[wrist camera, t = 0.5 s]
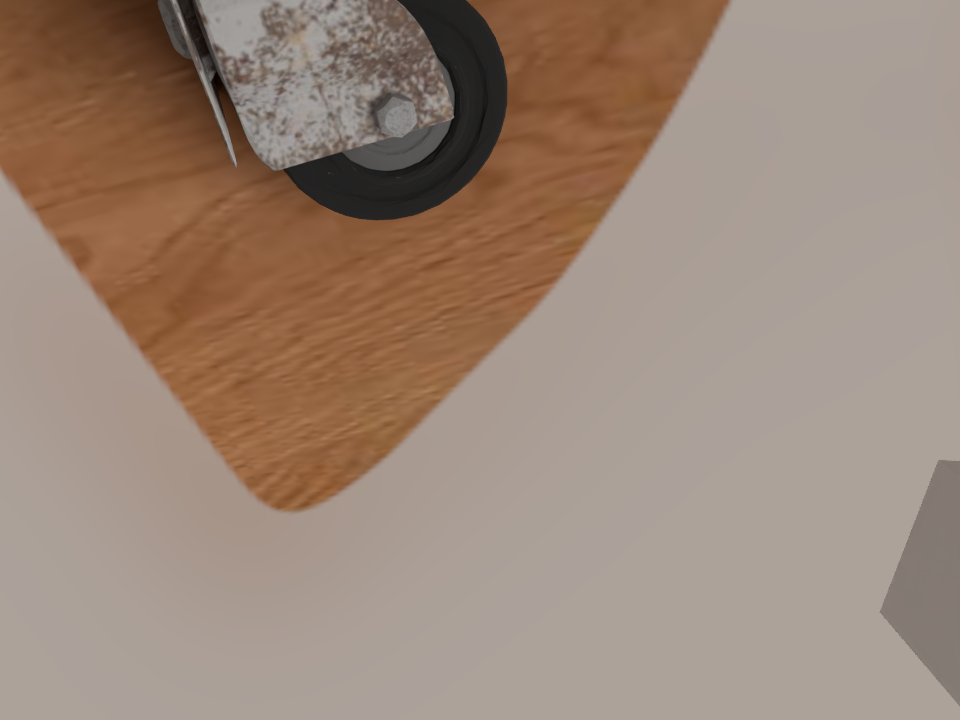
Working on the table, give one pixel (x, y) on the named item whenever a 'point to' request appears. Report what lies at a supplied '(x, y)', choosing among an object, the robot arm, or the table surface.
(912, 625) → the robot arm
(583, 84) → the table surface
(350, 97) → the caster wheel
